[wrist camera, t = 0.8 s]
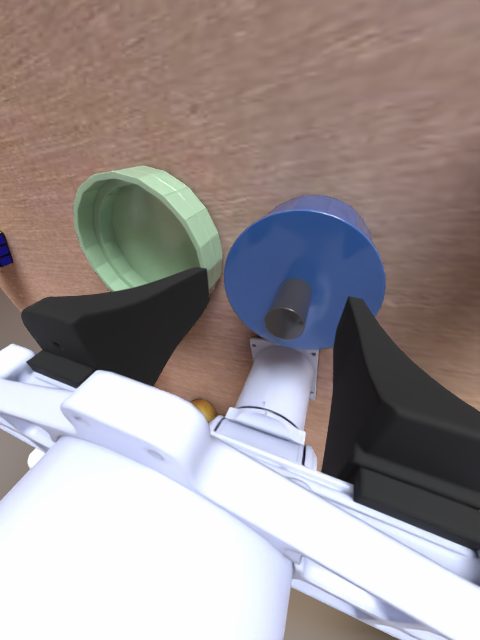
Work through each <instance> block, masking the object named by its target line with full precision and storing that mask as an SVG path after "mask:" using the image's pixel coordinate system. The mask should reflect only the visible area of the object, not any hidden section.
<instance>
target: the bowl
mask: <svg viewBox="0 0 480 640" xmlns="http://www.w3.org/2000/svg"><path fill="white" fill-rule="evenodd" d="M73 215H74V227H75V231H76V234H77V237H78V240H79V243H80V246H81V249H82V251H83V253H84V255H85V256H86V258H87V260H88V262H89V264H90V265H91V267H92V269H93V270H94V272H95V273H96V274H97V275H98V277H99V278H100V279H101V280H102V282H103V283H104V284H105V285H106V287H107V288H108V289H110V290H111V291H112V292H113V291H119V290H124V289H129V288H133V287H137V286H141V285H144V284H148V283H151V282H154V281H157V280H160V279H163V278H165V277H168V276H171V275H174V274H176V273H179V272H182V271H184V270H187V269H190V268H194V267H201V268H206V269H207V274H208V286H209V295H210V294H211V293H212V291H213V290H214V288H215V287H216V285H217V283H218V281H219V279H220V277H221V270H222V261H223V253H222V248H221V243H220V238H219V233H218V231H217V229H216V227H215V225H214V223H213V221H212V219H211V217H210V215H209V213H208V211H207V209H206V208H205V206H204V205H203V204H202V203H201V202H200V200H199V199H198V198H197V197H196V196H195V195H194V193H193V192H192V191H191V190H190V189H189V188H188V187H187V186H186V185H185V184H183V183H182V182H180V181H179V180H177V179H176V178H174V177H173V176H171V175H170V174H168V173H167V172H165V171H162V170H158V169H155V168H151V167H147V166H144V165H143V166H136V167H131V168H125V169H120V170H115V171H109V172H104V173H99V174H94V175H91V176H90V177H89V178H88V179H87V180H86V181H85V182H84V183H83V184H82V185H81V186H80V187H79V188H78V191H77V195H76V198H75V201H74V205H73Z"/></svg>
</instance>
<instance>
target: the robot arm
mask: <svg viewBox="0 0 480 640" xmlns="http://www.w3.org/2000/svg"><path fill="white" fill-rule="evenodd" d="M209 301H210V298H209V286H208V274H207V269H206V268H201V267H194V268H190V269H187V270H184V271H182V272H179V273H176V274H174V275H171V276H168V277H165V278H163V279H160V280H157V281H154V282H151V283H148V284H144V285H141V286H137V287H133V288H129V289H124V290H119V291H113V292H107V293H101V294H93V295H82V296H64V297H47V298H44V299H42V300H40V301H38V302H37V303H35V304H33V305H31V306H29V307H27V308H26V309H24V310H23V311H22V314H21V317H22V321H23V323H24V325H25V326H26V328H27V329H28V331H29V332H30V334H31V335H32V336H33V338H34V339H35V340H36V341H37V343H38V344H39V345H40V347H41V348H42V349H43V350H42V351H41V352H39V353H38V354H35V353H34V352H33V351H31V350H29V349H26V348H24V347H21V346H18V345H16V344H11V345H9V346H7V347H6V348H4V349H3V350H1V351H0V428H1V429H3V430H5V431H7V432H8V433H10V434H12V435H14V436H15V437H17V438H19V439H21V440H22V441H24V442H26V443H28V444H29V445H31V446H33V447H35V448H36V449H38V450H40V451H41V452H43V453H45V454H44V455H43V456H42V457H41V459H40V460H39V461H38V462H37V463H36V464H35V465H34V466H33V467H32V468H31V469H30V470H29V471H28V472H27V473H26V474H25V476H24V477H23V478H22V479H21V480H20V481H19V482H18V483H17V484H16V485H15V486H14V487H13V488H12V489H11V490H10V491H9V492H8V493H7V494H6V496H5V497H4V498H3V499H2V500H1V501H0V640H283V638H284V631H285V623H286V617H287V609H288V602H289V595H290V587H292V588H295V589H297V590H299V591H301V592H303V593H305V594H307V595H309V596H311V597H313V598H315V599H317V600H319V601H321V602H323V603H325V604H328V605H330V606H332V607H334V608H336V609H338V610H340V611H342V612H344V613H346V614H348V615H350V616H352V617H354V618H357V619H359V620H360V621H363V622H365V623H367V624H369V625H371V626H373V627H375V628H377V629H379V630H381V631H383V632H385V633H387V634H389V635H392V636H393V637H396V638H398V639H400V640H480V412H479V411H478V410H476V409H475V408H473V407H472V406H470V405H468V404H467V403H465V402H464V401H462V400H461V399H460V398H458V397H457V396H455V395H454V394H453V393H451V392H450V391H448V390H447V389H446V388H444V387H443V386H442V385H440V384H439V383H438V382H436V381H435V380H434V379H433V378H431V377H430V376H429V375H428V374H427V373H425V372H424V371H423V370H422V369H421V368H420V367H418V366H417V365H416V364H415V363H414V362H413V361H412V360H411V359H410V358H409V357H408V356H407V355H406V354H405V353H404V352H403V351H402V350H401V349H400V348H399V347H398V346H397V345H396V344H395V343H394V342H393V341H392V339H391V338H390V337H389V336H388V335H387V333H386V332H385V331H384V329H383V328H382V327H381V325H380V324H379V323H378V321H377V320H376V318H375V317H374V315H373V314H372V312H371V311H370V309H369V308H368V306H367V305H366V303H365V301H364V300H363V299H361V298H356V297H351V296H348V299H347V301H346V304H345V307H344V310H343V312H342V315H341V318H340V321H339V323H338V326H337V329H336V334H335V341H334V351H333V396H332V404H331V412H330V419H329V426H328V433H327V440H326V446H325V453H324V459H323V465H322V471H321V472H319V471H317V457H316V455H315V453H314V451H313V448H312V447H311V446H309V445H305V446H304V441H305V435H306V432H304V426H305V420H306V414H307V408H308V402H309V399H311V400H313V399H315V395H316V381H317V367H318V352H319V349H317V350H301V349H293V348H288V347H284V346H280V345H277V344H275V343H272V342H270V341H268V340H266V339H261V338H251V339H250V346H251V352H252V358H253V365H252V368H251V370H250V372H249V375H248V377H247V380H246V382H245V384H244V387H243V389H242V391H241V394H240V396H239V398H238V401H237V403H236V406H235V408H232V407H229V409H228V412H227V414H226V416H222V415H219V416H217V417H216V418H215V419H213V420H211V421H210V422H209V423H208V422H207V420H206V418H205V416H204V414H203V413H202V412H201V411H200V410H199V409H197V408H196V407H195V406H194V405H193V404H192V403H190V402H188V401H186V400H184V399H182V398H180V397H179V396H177V395H174V394H171V393H169V392H166V391H163V390H160V389H158V388H155V387H153V386H154V385H155V383H156V381H157V379H158V377H159V375H160V373H161V372H162V370H163V368H164V366H165V365H166V363H167V361H168V359H169V358H170V356H171V355H172V353H173V351H174V350H175V348H176V347H177V345H178V344H179V343H180V341H181V340H182V339H183V337H184V336H185V335H186V334H187V332H188V331H189V330H190V329H191V327H192V326H193V325H194V324H195V322H196V321H197V320H198V319H199V317H200V316H201V315H202V313H203V311H204V310H205V308H206V306H207V304H208V302H209ZM254 344H255V345H254ZM303 447H304V449H303Z"/></svg>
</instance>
